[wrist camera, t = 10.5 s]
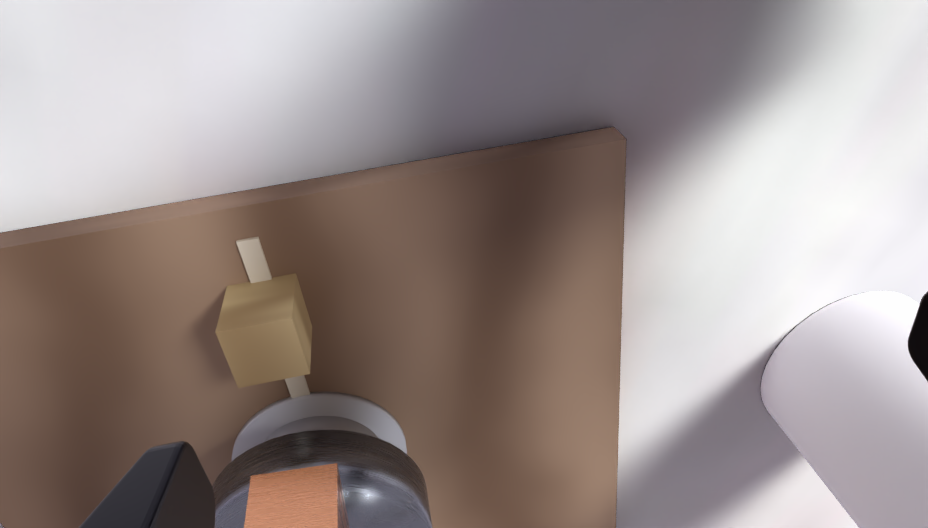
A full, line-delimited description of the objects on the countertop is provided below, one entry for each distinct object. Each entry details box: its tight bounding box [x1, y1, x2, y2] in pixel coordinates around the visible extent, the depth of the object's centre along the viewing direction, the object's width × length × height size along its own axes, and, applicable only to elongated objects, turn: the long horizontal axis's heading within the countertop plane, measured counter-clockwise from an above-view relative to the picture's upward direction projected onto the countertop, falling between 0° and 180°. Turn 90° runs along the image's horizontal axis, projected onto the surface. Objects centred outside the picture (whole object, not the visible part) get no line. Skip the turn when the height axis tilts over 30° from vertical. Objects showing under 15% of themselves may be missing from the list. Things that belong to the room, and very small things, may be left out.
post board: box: [0, 127, 626, 528], centre depth 23 cm, size 22×20×3 cm
